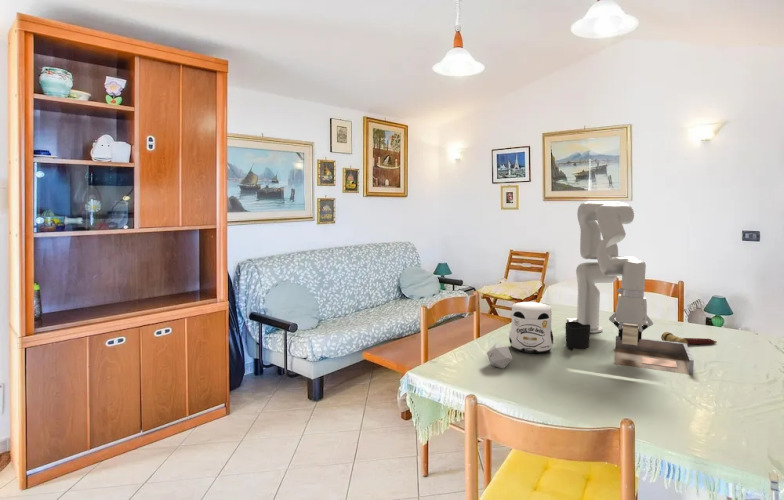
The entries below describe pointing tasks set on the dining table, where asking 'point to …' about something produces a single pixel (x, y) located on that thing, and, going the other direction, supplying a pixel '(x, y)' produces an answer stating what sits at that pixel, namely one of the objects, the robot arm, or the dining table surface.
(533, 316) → the milk container
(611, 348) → the dining table surface
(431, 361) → the dining table surface
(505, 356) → the die
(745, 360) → the dining table surface
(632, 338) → the maple block
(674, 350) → the metal walls
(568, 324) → the pen holder
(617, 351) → the walnut board
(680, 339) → the gavel
